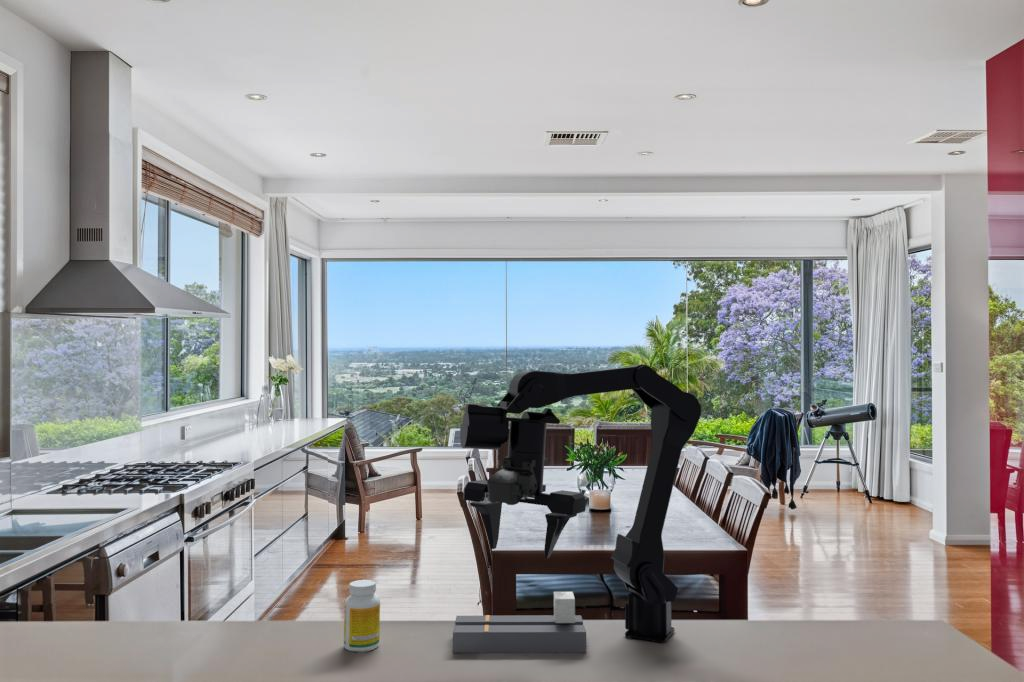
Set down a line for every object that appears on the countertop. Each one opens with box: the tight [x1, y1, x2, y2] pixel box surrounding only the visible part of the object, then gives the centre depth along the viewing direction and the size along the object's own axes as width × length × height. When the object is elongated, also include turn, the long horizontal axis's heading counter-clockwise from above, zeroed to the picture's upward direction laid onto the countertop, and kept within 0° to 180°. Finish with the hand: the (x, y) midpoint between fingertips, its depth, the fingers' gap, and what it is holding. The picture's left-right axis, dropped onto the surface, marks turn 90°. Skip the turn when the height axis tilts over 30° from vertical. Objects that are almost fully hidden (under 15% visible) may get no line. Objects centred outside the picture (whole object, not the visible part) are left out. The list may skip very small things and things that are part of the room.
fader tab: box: [553, 591, 576, 625], centre depth 116 cm, size 3×4×6 cm
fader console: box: [452, 614, 587, 654], centre depth 116 cm, size 20×8×3 cm, turn 90°
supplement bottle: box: [343, 579, 381, 653], centre depth 114 cm, size 5×5×10 cm
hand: (519, 553), depth 115 cm, fingers open, 9 cm apart
